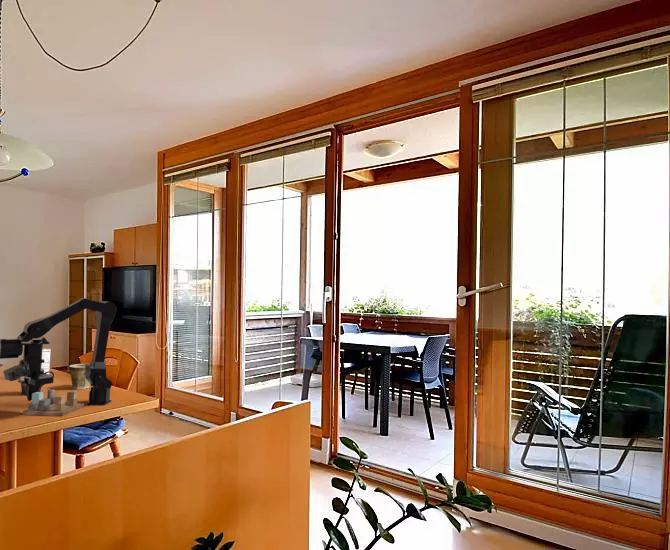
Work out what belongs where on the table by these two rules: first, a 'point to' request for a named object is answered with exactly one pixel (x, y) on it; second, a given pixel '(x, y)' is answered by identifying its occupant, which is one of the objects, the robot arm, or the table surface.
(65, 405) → the block puzzle board
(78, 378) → the ceramic cup
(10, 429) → the table surface
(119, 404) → the table surface
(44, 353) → the syrup box
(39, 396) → the teal l-shaped block
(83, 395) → the table surface
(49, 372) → the coffee mug
